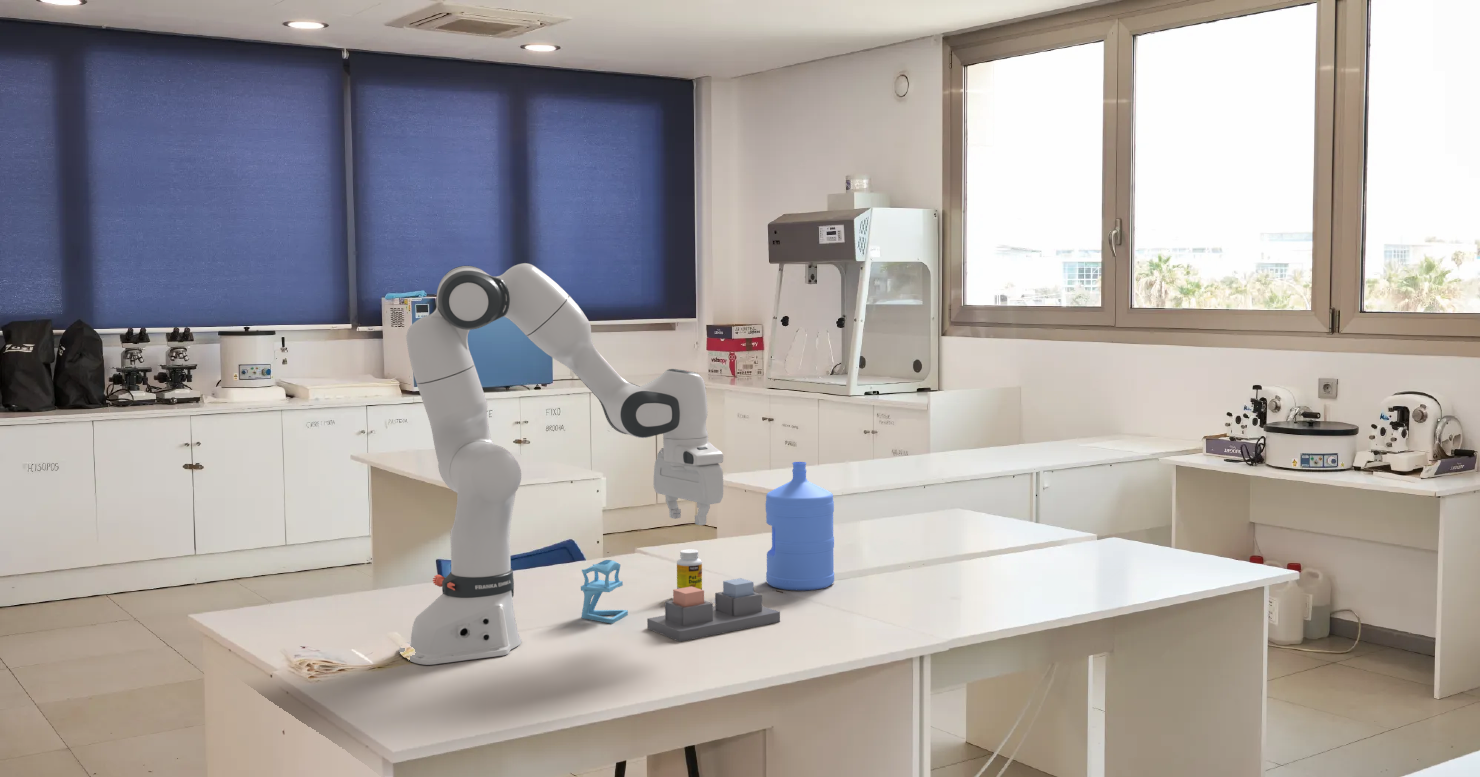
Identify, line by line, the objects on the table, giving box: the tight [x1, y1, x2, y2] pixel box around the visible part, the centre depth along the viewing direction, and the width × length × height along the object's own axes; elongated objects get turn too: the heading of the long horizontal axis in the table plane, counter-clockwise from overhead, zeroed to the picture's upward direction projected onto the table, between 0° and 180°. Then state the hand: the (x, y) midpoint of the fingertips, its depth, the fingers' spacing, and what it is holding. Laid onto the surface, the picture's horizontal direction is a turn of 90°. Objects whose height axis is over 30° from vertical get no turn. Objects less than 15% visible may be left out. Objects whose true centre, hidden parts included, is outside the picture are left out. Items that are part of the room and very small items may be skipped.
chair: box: [580, 559, 629, 624], centre depth 251 cm, size 8×8×12 cm
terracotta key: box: [672, 586, 705, 607], centre depth 240 cm, size 4×4×3 cm
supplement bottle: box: [676, 548, 703, 590], centre depth 268 cm, size 6×6×10 cm
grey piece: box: [646, 591, 781, 642], centre depth 244 cm, size 24×12×6 cm, turn 125°
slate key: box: [722, 577, 755, 598], centre depth 247 cm, size 4×4×3 cm
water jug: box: [765, 461, 835, 592], centre depth 278 cm, size 16×16×28 cm
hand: (687, 521), depth 239 cm, fingers open, 8 cm apart
